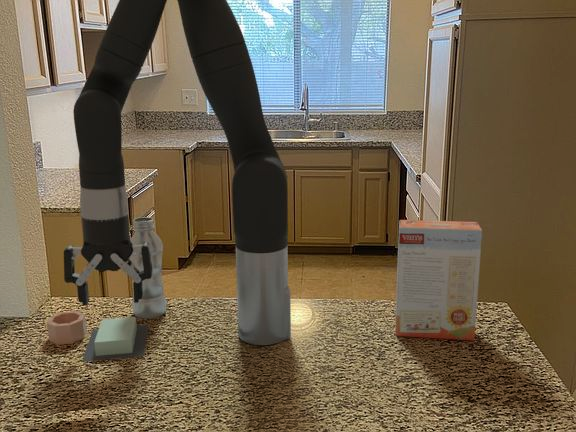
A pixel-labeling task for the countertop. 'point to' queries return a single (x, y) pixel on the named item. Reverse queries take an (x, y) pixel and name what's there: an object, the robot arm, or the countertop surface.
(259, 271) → the robot arm
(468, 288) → the cracker box
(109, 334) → the block
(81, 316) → the bowl
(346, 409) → the countertop surface
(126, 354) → the mat
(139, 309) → the plastic bottle
